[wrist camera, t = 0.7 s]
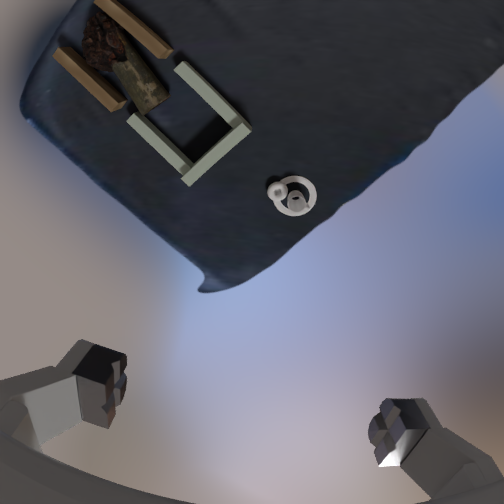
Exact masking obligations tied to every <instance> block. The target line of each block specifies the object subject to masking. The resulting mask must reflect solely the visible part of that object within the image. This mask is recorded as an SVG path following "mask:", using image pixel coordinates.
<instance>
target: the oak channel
mask: <svg viewBox="0 0 504 504" xmlns="http://www.w3.org/2000/svg"><path fill="white" fill-rule="evenodd" d="M94 3H95V4H96V5H97V6H99V7H100V8H101V9H102V10H103V11H105V12H106V13H107V14H108V15H109V16H111V17H112V18H113V19H114V20H115V21H116V22H118V23H119V24H120V25H121V26H122V27H124V28H125V29H126V30H127V31H128V32H129V33H130V34H132V35H133V36H134V37H135V38H136V39H137V40H138V41H140V42H141V43H142V44H143V45H144V46H145V47H146V48H147V49H148V50H150V51H151V52H152V53H153V54H154V55H155V56H156V57H157V58H167V57H168V56H169V55H170V54H171V53H172V52H173V51H174V50H173V49H172V48H171V47H170V46H169V45H168V44H167V43H166V42H165V41H163V40H162V39H161V38H160V37H159V36H158V35H157V34H156V33H154V32H153V31H152V30H151V29H150V28H149V27H148V26H146V25H145V24H144V23H143V22H142V21H141V20H139V19H138V18H137V17H136V16H135V15H133V14H132V13H131V12H130V11H129V10H127V9H126V8H125V7H124V6H123V5H121V4H120V3H119V2H118V1H116V0H95V1H94ZM53 57H54V58H55V59H56V60H57V61H58V62H59V63H60V64H61V65H62V66H63V67H64V68H65V69H66V70H67V71H68V72H69V73H71V74H72V75H73V76H74V77H75V78H76V79H77V80H78V81H79V82H80V83H81V84H82V85H83V86H84V87H85V88H86V89H87V90H88V91H89V92H91V93H92V94H93V95H94V96H95V97H96V98H97V99H98V100H99V101H100V102H101V103H102V104H103V105H104V106H105V107H106V108H107V109H108V110H109V111H110V112H113V111H115V110H118V109H120V108H121V107H122V106H123V105H124V104H125V103H126V101H127V99H126V98H125V97H124V96H123V95H122V94H121V93H119V92H118V91H117V90H116V89H115V88H114V87H113V86H112V85H111V84H110V83H109V82H108V81H107V80H106V79H105V78H103V77H102V76H101V75H100V74H99V73H98V72H97V71H96V70H95V69H94V68H93V67H92V66H90V65H89V64H87V63H86V61H85V60H84V59H83V58H82V57H81V56H80V55H79V54H78V53H76V52H75V51H74V50H73V49H72V48H71V47H58V49H57V50H56V52H55V53H54V55H53Z"/></svg>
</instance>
